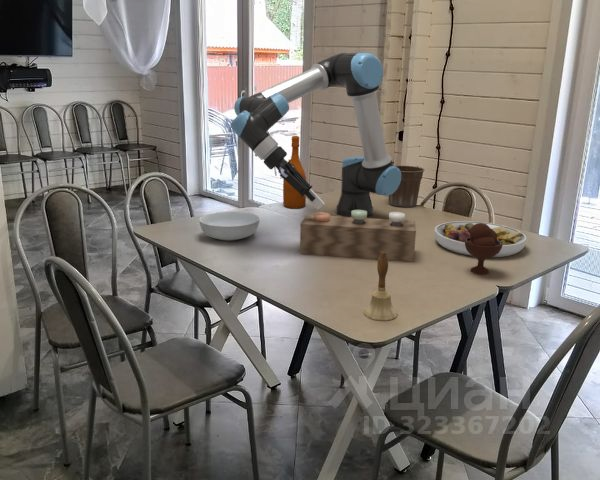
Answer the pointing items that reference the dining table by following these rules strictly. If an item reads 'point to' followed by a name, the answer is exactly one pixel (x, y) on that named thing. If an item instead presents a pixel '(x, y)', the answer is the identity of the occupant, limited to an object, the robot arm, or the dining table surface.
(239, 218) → the serving bowl
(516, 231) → the bowl
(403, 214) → the cream button
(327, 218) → the terracotta button
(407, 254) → the console
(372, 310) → the hand bell
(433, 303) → the dining table surface
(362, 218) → the sage button
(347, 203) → the robot arm
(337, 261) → the dining table surface
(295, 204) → the wine bottle
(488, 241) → the ice cream bowl
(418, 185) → the plant pot
